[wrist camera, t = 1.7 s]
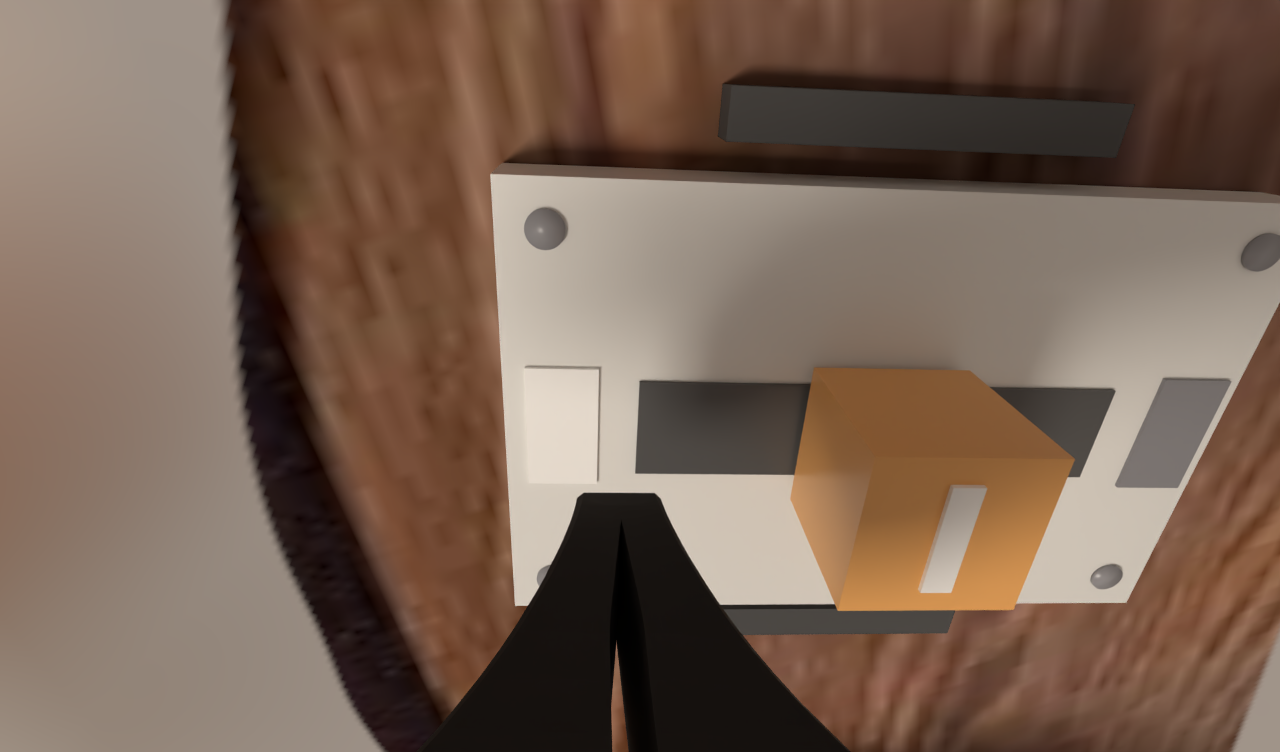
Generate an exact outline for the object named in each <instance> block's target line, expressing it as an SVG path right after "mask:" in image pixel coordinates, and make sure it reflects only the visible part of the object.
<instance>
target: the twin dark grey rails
mask: <svg viewBox="0 0 1280 752" xmlns="http://www.w3.org/2000/svg"><path fill="white" fill-rule="evenodd" d="M1134 106H1135V104H1125V103H1112V102H1098V101H1077V100H1056V99H1035V98H1013V97H992V96H971V95H950V94H929V93H908V92H887V91H866V90H845V89H824V88H802V87H781V86H760V85H739V84H723V87H722V98H721V109H720V120H719V131H718V137H720V138H721V139H723V140H725V141H726V142H749V143H773V144H797V145H821V146H845V147H869V148H893V149H917V150H941V151H965V152H989V153H1014V154H1038V155H1062V156H1086V157H1110V158H1116V156H1117V154H1118V151H1119V148H1120V145H1121V142H1122V140H1123V137H1124V134H1125V131H1126V128H1127V125H1128V123H1129V120H1130V117H1131V114H1132V111H1133V109H1134ZM721 606H722V608H723V609H724V611H725V612H726V613H727V615H728V616H729V618H730V619H731V620H732V622H733V623H734V625H735V626H736V627H737V629H738V630H739V631H740V632H741V634H742V635H784V634H909V633H947V632H948V630H949V627H950V624H951V621H952V618H953V615H954V613H955V610H904V611H838V610H837V608H836V606H835V604H760V605H721Z"/></svg>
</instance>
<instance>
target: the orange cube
mask: <svg viewBox="0 0 1280 752" xmlns="http://www.w3.org/2000/svg"><path fill="white" fill-rule="evenodd" d="M1074 461H1075V459H1074V458H1073V457H1072V456H1071V455H1070V454H1069V453H1067V452H1066V451H1065V450H1064V449H1063V448H1061V447H1060V446H1059V445H1058V444H1057V443H1055V442H1054V441H1053V440H1052V439H1051V438H1050V437H1048V436H1047V435H1046V434H1045V433H1044V432H1042V431H1041V430H1040V429H1039V428H1038V427H1036V426H1035V425H1034V424H1033V423H1032V422H1031V421H1029V420H1028V419H1027V418H1026V417H1025V416H1023V415H1022V414H1021V413H1020V412H1019V411H1017V410H1016V409H1015V408H1014V407H1013V406H1012V405H1010V404H1009V403H1008V402H1007V401H1006V400H1004V399H1003V398H1002V397H1001V396H1000V395H998V394H997V393H996V392H995V391H994V390H993V389H991V388H990V387H989V386H988V385H987V384H985V383H984V382H983V381H982V380H981V379H979V378H978V377H977V376H976V375H975V374H974V373H972V372H971V371H970V370H922V369H870V368H818V367H814V370H813V375H812V381H811V386H810V392H809V397H808V403H807V408H806V414H805V420H804V425H803V431H802V436H801V442H800V447H799V453H798V458H797V464H796V469H795V475H794V480H793V486H792V491H791V497H790V500H791V502H792V504H793V507H794V509H795V511H796V514H797V516H798V518H799V521H800V523H801V525H802V528H803V530H804V533H805V535H806V537H807V540H808V542H809V544H810V547H811V549H812V551H813V554H814V556H815V558H816V561H817V563H818V566H819V568H820V570H821V573H822V575H823V577H824V580H825V582H826V584H827V587H828V589H829V591H830V594H831V596H832V598H833V601H834V603H835V606H836V608H837V610H838V611H904V610H1014V607H1015V605H1016V602H1017V600H1018V597H1019V595H1020V592H1021V590H1022V588H1023V585H1024V583H1025V580H1026V578H1027V575H1028V573H1029V570H1030V568H1031V566H1032V563H1033V561H1034V558H1035V556H1036V553H1037V551H1038V548H1039V546H1040V544H1041V541H1042V539H1043V536H1044V534H1045V531H1046V529H1047V527H1048V524H1049V522H1050V519H1051V517H1052V514H1053V512H1054V509H1055V507H1056V505H1057V502H1058V500H1059V497H1060V495H1061V492H1062V490H1063V487H1064V485H1065V483H1066V480H1067V478H1068V475H1069V473H1070V470H1071V468H1072V465H1073V463H1074Z"/></svg>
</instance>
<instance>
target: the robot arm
mask: <svg viewBox="0 0 1280 752" xmlns="http://www.w3.org/2000/svg"><path fill="white" fill-rule="evenodd" d="M616 640H617V649H618V658H619V667H620V677H621V686H622V695H623V704H624V713H625V722H626V731H627V740H628V749H629V752H850V751H849V750H848V749H847V748H846V747H845V746H844V745H843V744H842V743H841V742H840V741H839V740H838V739H837V738H836V737H835V736H834V735H833V734H832V733H831V732H830V731H829V730H828V729H827V728H826V727H825V726H824V725H823V724H822V723H821V722H820V721H819V720H818V719H817V718H816V717H815V716H814V715H813V714H812V713H811V712H810V711H809V710H808V709H807V708H806V707H805V706H803V705H802V704H801V702H800V701H799V700H798V699H797V698H796V697H795V696H794V695H793V694H792V693H791V692H790V690H789V689H788V688H787V687H786V686H785V685H784V684H783V683H782V682H781V681H780V679H779V678H778V677H777V676H776V675H775V674H774V673H773V672H772V670H771V669H770V668H769V667H768V666H767V665H766V663H765V662H764V661H763V660H762V659H761V657H760V656H759V655H758V654H757V653H756V651H755V650H754V649H753V648H752V647H751V645H750V644H749V643H748V641H747V640H746V639H745V638H744V636H743V635H742V634H741V632H740V631H739V630H738V629H737V627H736V626H735V625H734V623H733V622H732V620H731V619H730V618H729V616H728V615H727V613H726V612H725V611H724V609H723V608H722V606H721V605H720V604H719V602H718V601H717V599H716V598H715V596H714V595H713V593H712V592H711V590H710V589H709V587H708V586H707V584H706V583H705V581H704V580H703V578H702V576H701V575H700V573H699V572H698V570H697V568H696V567H695V565H694V563H693V562H692V560H691V559H690V557H689V555H688V553H687V552H686V550H685V548H684V546H683V545H682V543H681V541H680V539H679V537H678V535H677V533H676V532H675V530H674V528H673V526H672V524H671V522H670V520H669V517H668V515H667V513H666V511H665V508H664V506H663V503H662V501H661V498H660V497H659V496H658V495H656V494H655V493H583V494H581V495H580V496H579V497H578V498H577V500H576V505H575V509H574V512H573V515H572V518H571V521H570V524H569V526H568V529H567V531H566V534H565V536H564V538H563V541H562V543H561V545H560V547H559V549H558V551H557V553H556V555H555V557H554V559H553V561H552V563H551V565H550V567H549V569H548V571H547V573H546V575H545V577H544V579H543V581H542V583H541V585H540V586H539V588H538V590H537V591H536V593H535V595H534V596H533V598H532V600H531V601H530V603H529V605H528V606H527V608H526V610H525V611H524V613H523V615H522V617H521V618H520V620H519V621H518V623H517V625H516V626H515V628H514V629H513V631H512V632H511V634H510V635H509V637H508V638H507V640H506V641H505V643H504V644H503V646H502V647H501V648H500V650H499V651H498V653H497V654H496V655H495V657H494V658H493V660H492V661H491V662H490V664H489V665H488V667H487V668H486V669H485V671H484V672H483V673H482V675H481V676H480V677H479V678H478V680H477V681H476V682H475V684H474V685H473V686H472V687H471V689H470V690H469V691H468V692H467V694H466V695H465V696H464V697H463V699H462V700H461V701H460V702H459V704H458V705H457V706H456V707H455V709H454V710H453V711H452V712H451V714H450V715H449V716H448V717H447V718H446V719H445V721H444V722H443V723H442V724H441V725H440V727H439V728H438V729H437V730H436V731H435V732H434V733H433V735H432V736H431V737H430V738H429V739H428V740H427V741H426V742H425V743H424V744H423V745H422V746H421V748H420V749H419V750H418V751H417V752H612V725H611V700H612V688H613V676H614V664H615V651H616Z"/></svg>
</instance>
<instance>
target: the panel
mask: <svg viewBox="0 0 1280 752" xmlns="http://www.w3.org/2000/svg"><path fill="white" fill-rule="evenodd" d="M490 175H491V192H492V210H493V227H494V245H495V262H496V280H497V297H498V315H499V332H500V350H501V367H502V385H503V402H504V420H505V437H506V455H507V472H508V490H509V507H510V524H511V542H512V559H513V577H514V594H515V606H528V605H529V603H530V601H531V600H532V598H533V596H534V595H535V593H536V591H537V590H538V588H539V586H540V585H541V583H542V581H543V579H544V577H545V575H546V573H547V571H548V569H549V567H550V565H551V563H552V561H553V559H554V557H555V555H556V553H557V551H558V549H559V547H560V545H561V543H562V541H563V538H564V536H565V534H566V531H567V529H568V526H569V524H570V521H571V518H572V515H573V512H574V509H575V505H576V500H577V498H578V497H579V496H580V495H581V494H583V493H655V494H656V495H658V496H659V497H660V498H661V501H662V503H663V506H664V508H665V511H666V513H667V515H668V517H669V520H670V522H671V524H672V526H673V528H674V530H675V532H676V533H677V535H678V537H679V539H680V541H681V543H682V545H683V546H684V548H685V550H686V552H687V553H688V555H689V557H690V559H691V560H692V562H693V563H694V565H695V567H696V568H697V570H698V572H699V573H700V575H701V576H702V578H703V580H704V581H705V583H706V584H707V586H708V587H709V589H710V590H711V592H712V593H713V595H714V596H715V598H716V599H717V601H718V602H719V604H720V605H760V604H835V603H834V601H833V598H832V596H831V594H830V591H829V589H828V587H827V584H826V582H825V580H824V577H823V575H822V573H821V570H820V568H819V566H818V563H817V561H816V558H815V556H814V554H813V551H812V549H811V547H810V544H809V542H808V540H807V537H806V535H805V533H804V530H803V528H802V525H801V523H800V521H799V518H798V516H797V514H796V511H795V509H794V507H793V504H792V502H791V500H790V497H791V491H792V486H793V480H794V475H795V469H796V464H797V458H798V453H799V447H800V442H801V436H802V431H803V425H804V420H805V414H806V408H807V403H808V397H809V392H810V386H811V381H812V375H813V370H814V367H818V368H870V369H922V370H970V371H971V372H972V373H974V374H975V375H976V376H977V377H978V378H979V379H981V380H982V381H983V382H984V383H985V384H987V385H988V386H989V387H990V388H991V389H993V390H994V391H995V392H996V393H997V394H998V395H1000V396H1001V397H1002V398H1003V399H1004V400H1006V401H1007V402H1008V403H1009V404H1010V405H1012V406H1013V407H1014V408H1015V409H1016V410H1017V411H1019V412H1020V413H1021V414H1022V415H1023V416H1025V417H1026V418H1027V419H1028V420H1029V421H1031V422H1032V423H1033V424H1034V425H1035V426H1036V427H1038V428H1039V429H1040V430H1041V431H1042V432H1044V433H1045V434H1046V435H1047V436H1048V437H1050V438H1051V439H1052V440H1053V441H1054V442H1055V443H1057V444H1058V445H1059V446H1060V447H1061V448H1063V449H1064V450H1065V451H1066V452H1067V453H1069V454H1070V455H1071V456H1072V457H1073V458H1074V459H1075V461H1074V463H1073V465H1072V468H1071V470H1070V473H1069V475H1068V478H1067V480H1066V483H1065V485H1064V487H1063V490H1062V492H1061V495H1060V497H1059V500H1058V502H1057V505H1056V507H1055V509H1054V512H1053V514H1052V517H1051V519H1050V522H1049V524H1048V527H1047V529H1046V531H1045V534H1044V536H1043V539H1042V541H1041V544H1040V546H1039V548H1038V551H1037V553H1036V556H1035V558H1034V561H1033V563H1032V566H1031V568H1030V570H1029V573H1028V575H1027V578H1026V580H1025V583H1024V585H1023V588H1022V590H1021V592H1020V595H1019V597H1018V600H1017V602H1016V603H1126V602H1127V600H1128V598H1129V596H1130V594H1131V592H1132V590H1133V588H1134V586H1135V584H1136V582H1137V580H1138V578H1139V576H1140V575H1141V573H1142V571H1143V569H1144V567H1145V565H1146V563H1147V561H1148V559H1149V557H1150V555H1151V553H1152V551H1153V549H1154V547H1155V545H1156V543H1157V541H1158V539H1159V537H1160V535H1161V533H1162V532H1163V530H1164V528H1165V526H1166V524H1167V522H1168V520H1169V518H1170V516H1171V514H1172V512H1173V510H1174V508H1175V506H1176V504H1177V502H1178V500H1179V498H1180V496H1181V494H1182V492H1183V490H1184V488H1185V487H1186V485H1187V483H1188V481H1189V479H1190V477H1191V475H1192V473H1193V471H1194V469H1195V467H1196V465H1197V463H1198V461H1199V459H1200V457H1201V455H1202V453H1203V451H1204V449H1205V447H1206V445H1207V444H1208V442H1209V440H1210V438H1211V436H1212V434H1213V432H1214V430H1215V428H1216V426H1217V424H1218V422H1219V420H1220V418H1221V416H1222V414H1223V412H1224V410H1225V408H1226V406H1227V404H1228V402H1229V401H1230V399H1231V397H1232V395H1233V393H1234V391H1235V389H1236V387H1237V385H1238V383H1239V381H1240V379H1241V377H1242V375H1243V373H1244V371H1245V369H1246V367H1247V365H1248V363H1249V361H1250V359H1251V358H1252V356H1253V354H1254V352H1255V350H1256V348H1257V346H1258V344H1259V342H1260V340H1261V338H1262V336H1263V334H1264V332H1265V330H1266V328H1267V326H1268V324H1269V322H1270V320H1271V318H1272V316H1273V315H1274V313H1275V311H1276V309H1277V307H1278V305H1279V303H1280V196H1279V195H1274V194H1268V193H1263V192H1244V191H1219V190H1193V189H1167V188H1141V187H1115V186H1089V185H1063V184H1037V183H1011V182H985V181H959V180H933V179H907V178H882V177H856V176H830V175H804V174H778V173H752V172H726V171H700V170H674V169H648V168H622V167H596V166H571V165H545V164H519V163H501V164H500V165H499V166H498V167H497V168H496V169H495V170H494V171H493V172H492V173H491V174H490Z"/></svg>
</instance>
